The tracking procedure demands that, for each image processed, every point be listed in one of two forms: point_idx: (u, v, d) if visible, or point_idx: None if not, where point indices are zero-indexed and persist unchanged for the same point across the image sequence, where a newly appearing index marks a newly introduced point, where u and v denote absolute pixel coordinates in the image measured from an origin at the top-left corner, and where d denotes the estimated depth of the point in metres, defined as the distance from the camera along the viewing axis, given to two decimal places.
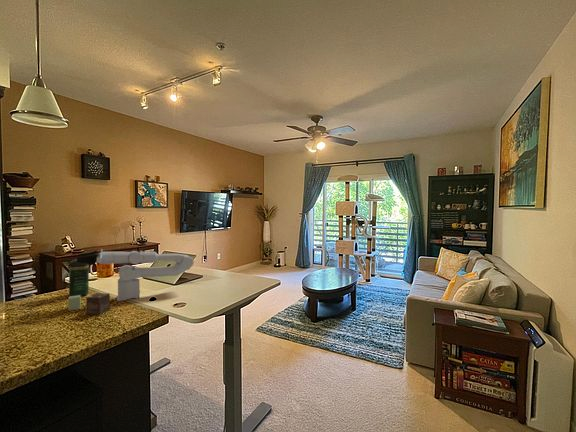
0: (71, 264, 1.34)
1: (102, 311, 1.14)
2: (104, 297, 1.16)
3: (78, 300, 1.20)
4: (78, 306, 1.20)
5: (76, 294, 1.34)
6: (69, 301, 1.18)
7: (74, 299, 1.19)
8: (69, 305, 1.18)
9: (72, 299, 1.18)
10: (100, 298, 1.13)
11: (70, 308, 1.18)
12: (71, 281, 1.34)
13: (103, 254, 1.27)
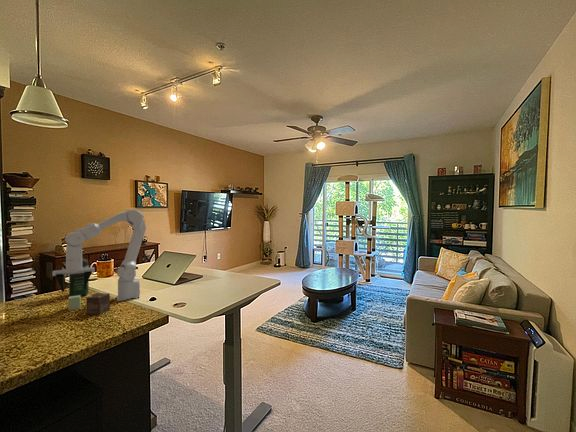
0: None
1: (102, 311, 1.14)
2: (104, 297, 1.16)
3: (78, 300, 1.20)
4: (78, 306, 1.20)
5: (76, 294, 1.34)
6: (69, 301, 1.18)
7: (74, 299, 1.19)
8: (69, 305, 1.18)
9: (72, 299, 1.18)
10: (100, 298, 1.13)
11: (70, 308, 1.18)
12: (71, 281, 1.34)
13: (79, 268, 1.20)
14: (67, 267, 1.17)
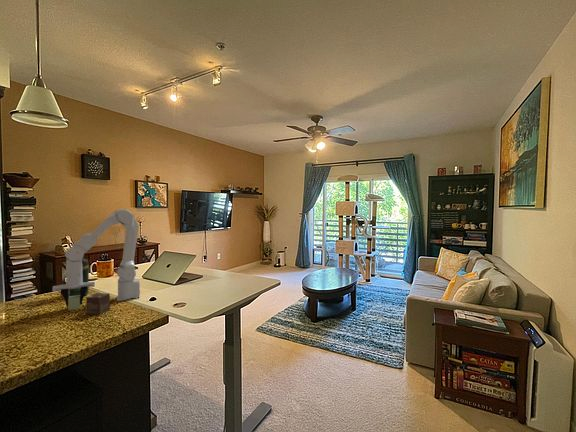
0: None
1: (102, 311, 1.14)
2: (104, 297, 1.16)
3: (78, 300, 1.20)
4: (78, 306, 1.20)
5: (76, 294, 1.34)
6: (69, 301, 1.18)
7: (74, 299, 1.19)
8: (69, 305, 1.18)
9: (72, 299, 1.18)
10: (100, 298, 1.13)
11: (70, 308, 1.18)
12: None
13: (79, 283, 1.20)
14: (67, 282, 1.18)
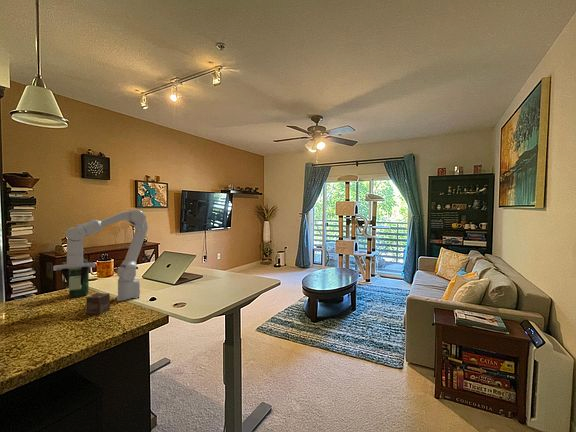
0: None
1: (102, 311, 1.14)
2: (104, 297, 1.16)
3: (79, 280, 1.19)
4: (79, 286, 1.19)
5: (76, 294, 1.34)
6: (70, 281, 1.17)
7: (75, 279, 1.18)
8: (70, 285, 1.17)
9: (73, 279, 1.18)
10: (100, 298, 1.13)
11: (71, 288, 1.18)
12: None
13: (80, 263, 1.19)
14: (68, 262, 1.17)
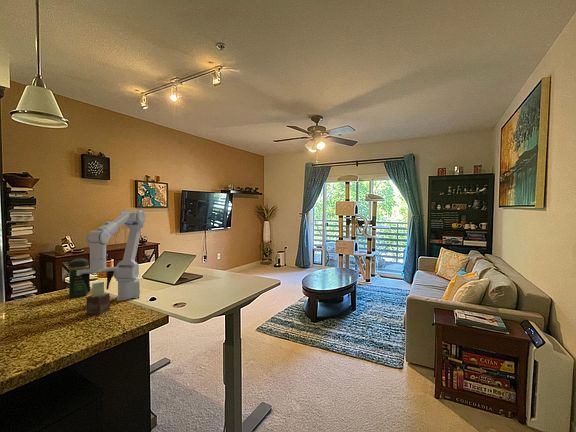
0: (71, 264, 1.34)
1: (102, 311, 1.14)
2: (104, 297, 1.16)
3: (102, 287, 1.15)
4: (102, 293, 1.15)
5: (76, 294, 1.34)
6: (93, 287, 1.13)
7: (98, 285, 1.14)
8: (93, 291, 1.13)
9: (96, 285, 1.14)
10: (100, 298, 1.13)
11: (94, 295, 1.14)
12: (71, 281, 1.34)
13: (104, 267, 1.15)
14: (91, 266, 1.13)
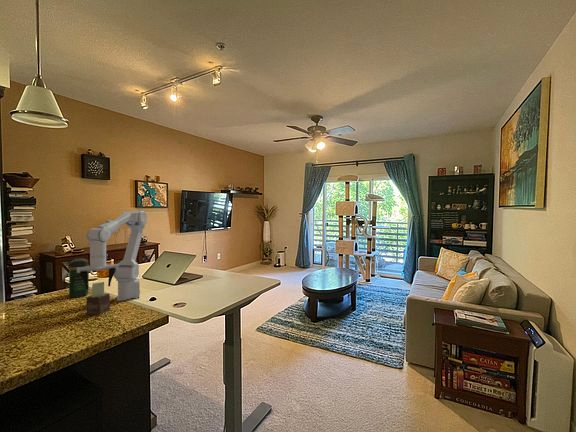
0: (71, 264, 1.34)
1: (102, 311, 1.14)
2: (104, 297, 1.16)
3: (102, 287, 1.15)
4: (102, 293, 1.15)
5: (76, 294, 1.34)
6: (93, 287, 1.13)
7: (98, 286, 1.14)
8: (93, 292, 1.13)
9: (96, 286, 1.14)
10: (100, 298, 1.13)
11: (94, 295, 1.14)
12: (71, 281, 1.34)
13: (104, 265, 1.16)
14: (91, 264, 1.14)
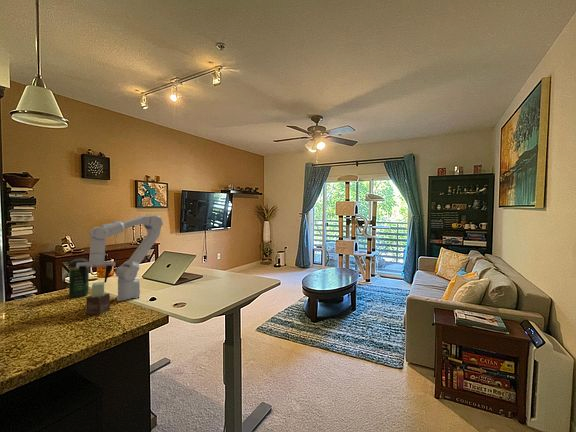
0: (71, 264, 1.34)
1: (102, 311, 1.14)
2: (104, 297, 1.16)
3: (102, 287, 1.15)
4: (102, 293, 1.15)
5: (76, 294, 1.34)
6: (93, 287, 1.13)
7: (98, 286, 1.14)
8: (93, 292, 1.13)
9: (96, 285, 1.14)
10: (100, 298, 1.13)
11: (94, 295, 1.14)
12: (71, 281, 1.34)
13: (102, 261, 1.24)
14: (90, 260, 1.21)
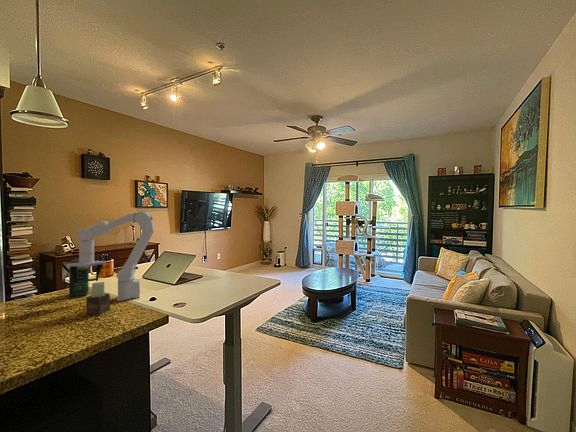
0: None
1: (102, 311, 1.14)
2: (104, 297, 1.16)
3: (102, 287, 1.15)
4: (102, 293, 1.15)
5: (76, 294, 1.34)
6: (93, 287, 1.13)
7: (98, 286, 1.14)
8: (93, 292, 1.13)
9: (96, 286, 1.14)
10: (100, 298, 1.13)
11: (94, 295, 1.14)
12: (71, 281, 1.34)
13: (92, 261, 1.28)
14: (80, 260, 1.26)
